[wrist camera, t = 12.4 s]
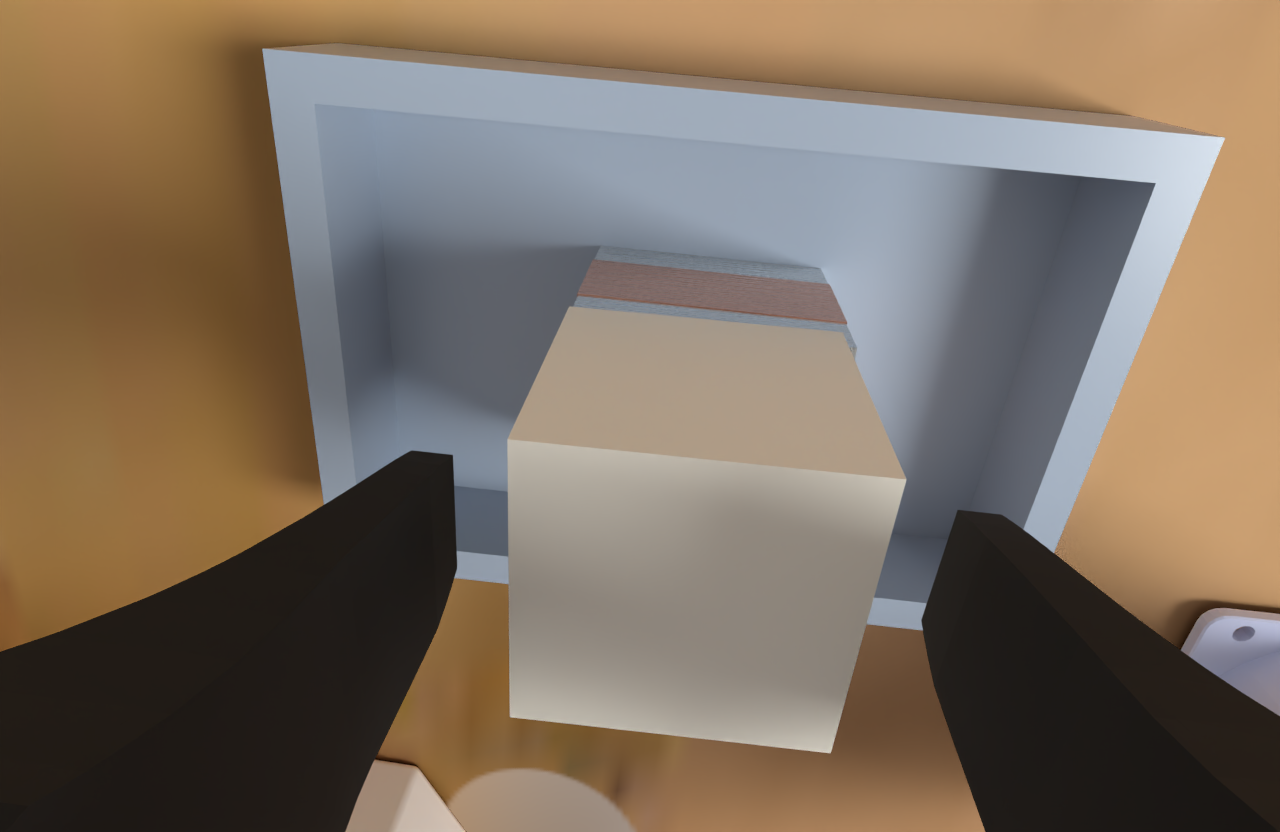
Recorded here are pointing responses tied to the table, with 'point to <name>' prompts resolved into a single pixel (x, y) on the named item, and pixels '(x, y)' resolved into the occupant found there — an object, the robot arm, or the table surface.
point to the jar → (400, 802)
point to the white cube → (695, 529)
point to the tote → (723, 228)
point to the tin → (712, 290)
